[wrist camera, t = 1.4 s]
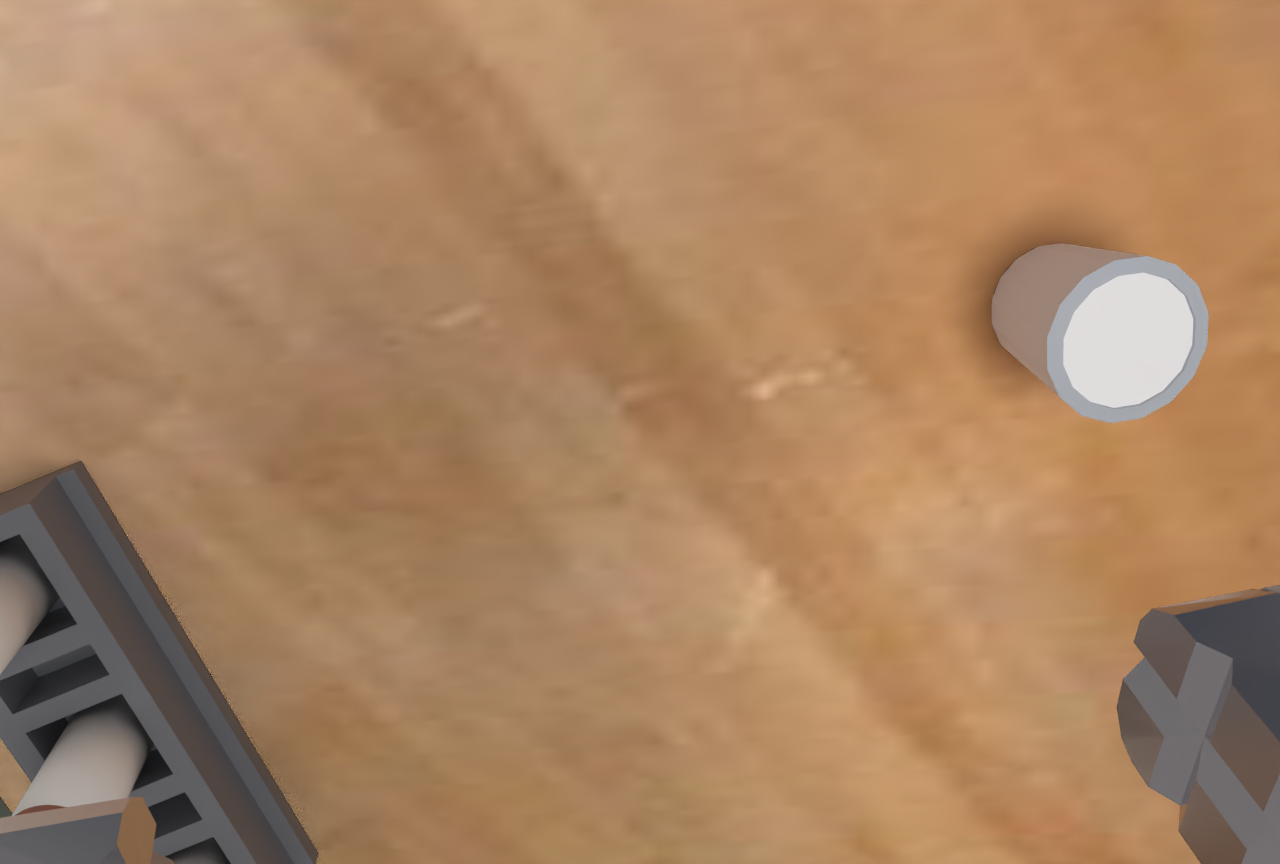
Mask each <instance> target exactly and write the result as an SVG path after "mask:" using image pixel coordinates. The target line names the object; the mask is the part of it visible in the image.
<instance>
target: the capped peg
mask: <svg viewBox="0 0 1280 864" xmlns="http://www.w3.org/2000/svg"><path fill="white" fill-rule="evenodd" d="M153 744H154V743H153V741H152V740H151V738H150V737H149V735H148V734H147V732H146V731H145V729H144V727H143V726H142V724H141V723H140V721H139V720H138V718H137V716H136V715H135V713H134V712H133V710H132V709H131V707H130V706H129V704H128V702H127V701H126V699H125V698H124V696H123V695H122V694H120V695H118V696H115V697H113V698H110V699H108V700H105V701H103V702H100V703H98V704H96V705H93V706H91V707H88V708H86V709H83V710H81V711H78V712H76V713H74V715H73V716H72V718H71V719H70V721H69V723H68V724H67V726H66V728H65V729H64V731H63V732H62V734H61V736H60V737H59V739H58V741H57V742H56V744H55V746H54V747H53V749H52V750H51V752H50V754H49V755H48V757H47V759H46V760H45V762H44V763H43V765H42V767H41V768H40V770H39V772H38V773H37V775H36V776H35V778H34V780H33V781H32V783H31V785H30V786H29V788H28V790H27V791H26V793H25V794H24V796H23V798H22V799H21V801H20V803H19V804H18V806H17V807H16V809H15V811H14V812H13V814H12V816H15V815H22V814H28V813H34V812H41V811H47V810H53V809H60V808H66V807H72V806H79V805H85V804H91V803H98V802H104V801H110V800H117V799H123V798H128V797H129V795H130V792H131V790H132V788H133V786H134V784H135V782H136V780H137V778H138V776H139V773H140V771H141V769H142V767H143V765H144V763H145V761H146V759H147V757H148V754H149V752H150V750H151V748H152V746H153Z"/></svg>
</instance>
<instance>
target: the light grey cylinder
mask: <svg viewBox="0 0 1280 864" xmlns="http://www.w3.org/2000/svg"><path fill="white" fill-rule="evenodd" d="M991 310H992V327H993V329H994V331H995V333H996V336H997V338H998V340H999V342H1000V344H1001V346H1002V347H1004V348H1005V349H1006V350H1007V351H1008V352H1009V353H1010V354H1012V355H1013V356H1014V357H1015V358H1016V359H1017V360H1018V361H1019V362H1021V363H1022V364H1023V365H1024V366H1025V367H1026V368H1027V369H1028V370H1030V371H1031V372H1032V373H1033V374H1034V375H1035V376H1036V377H1038V378H1039V379H1040V380H1041V381H1042V382H1043V383H1044V384H1045V385H1047V386H1048V387H1049V388H1050V389H1051V390H1052V391H1053V392H1054V393H1056V394H1057V395H1058V396H1059V397H1060V398H1061V399H1062V400H1064V401H1065V402H1066V403H1067V404H1068V405H1070V406H1071V407H1072V408H1073V409H1074V410H1075V411H1077V412H1078V413H1079V414H1080V415H1081V416H1085V417H1089V418H1093V419H1097V420H1100V421H1104V422H1108V423H1113V422H1120V421H1127V420H1133V419H1140V418H1143V417H1145V416H1146V415H1148V414H1150V413H1152V412H1154V411H1155V410H1157V409H1159V408H1161V407H1163V406H1164V405H1166V404H1168V403H1170V402H1171V401H1172V400H1173V399H1174V398H1175V397H1176V395H1177V394H1178V393H1179V392H1180V391H1181V390H1182V389H1183V388H1184V387H1185V386H1186V385H1187V383H1188V382H1189V381H1190V380H1191V379H1192V378H1193V377H1194V374H1195V372H1196V370H1197V368H1198V365H1199V363H1200V361H1201V358H1202V356H1203V354H1204V351H1205V349H1206V347H1207V335H1208V316H1209V313H1208V311H1207V308H1206V305H1205V303H1204V300H1203V297H1202V295H1201V292H1200V289H1199V287H1198V285H1197V284H1196V283H1195V282H1194V281H1193V280H1192V279H1191V278H1190V277H1189V276H1188V275H1187V274H1186V273H1185V272H1184V271H1182V270H1181V269H1180V268H1179V267H1178V266H1177V265H1176V264H1172V263H1169V262H1166V261H1162V260H1159V259H1155V258H1152V257H1149V256H1144V255H1137V254H1131V253H1124V252H1118V251H1111V250H1104V249H1098V248H1091V247H1085V246H1078V245H1071V244H1065V243H1059V244H1051V245H1044V246H1038V247H1036V248H1035V249H1033V250H1031V251H1029V252H1027V253H1026V254H1024V255H1022V256H1020V257H1019V258H1017V259H1016V260H1015V261H1014V262H1013V263H1012V265H1011V266H1010V267H1009V268H1008V269H1007V270H1006V272H1005V273H1004V274H1003V275H1002V276H1001V278H1000V280H999V282H998V285H997V288H996V290H995V293H994V296H993V298H992V301H991Z"/></svg>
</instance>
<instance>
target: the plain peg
mask: <svg viewBox="0 0 1280 864" xmlns="http://www.w3.org/2000/svg"><path fill="white" fill-rule="evenodd" d="M59 598H60V596H59V595H58V593H57V592H56V590H55V588H54V587H53V585H52V584H51V582H50V581H49V579H48V578H47V576H46V574H45V573H44V571H43V570H42V568H41V567H40V565H39V563H38V562H37V560H36V559H35V557H34V556H33V554H32V553H31V551H30V549H29V548H28V546H27V545H26V543H25V542H24V540H23V539H22V537H21V535H20V534H18V535H16V536H14V537H11V538H9V539H6V540H4V541H1V542H0V674H1V673H2V672H3V671H4V669H5V668H6V667H7V665H8V664H9V663H10V661H11V660H12V659H13V658H14V656H15V655H16V654H17V652H18V651H19V650H20V648H21V647H22V646H23V645H24V643H25V642H26V641H27V639H28V638H29V637H30V635H31V634H32V633H33V632H34V630H35V629H36V628H37V626H38V625H39V624H40V622H41V621H42V620H43V619H44V617H45V616H46V615H47V613H48V612H49V611H50V609H51V608H52V607H53V605H54V604H55V603H56V602H57V600H58V599H59Z"/></svg>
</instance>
